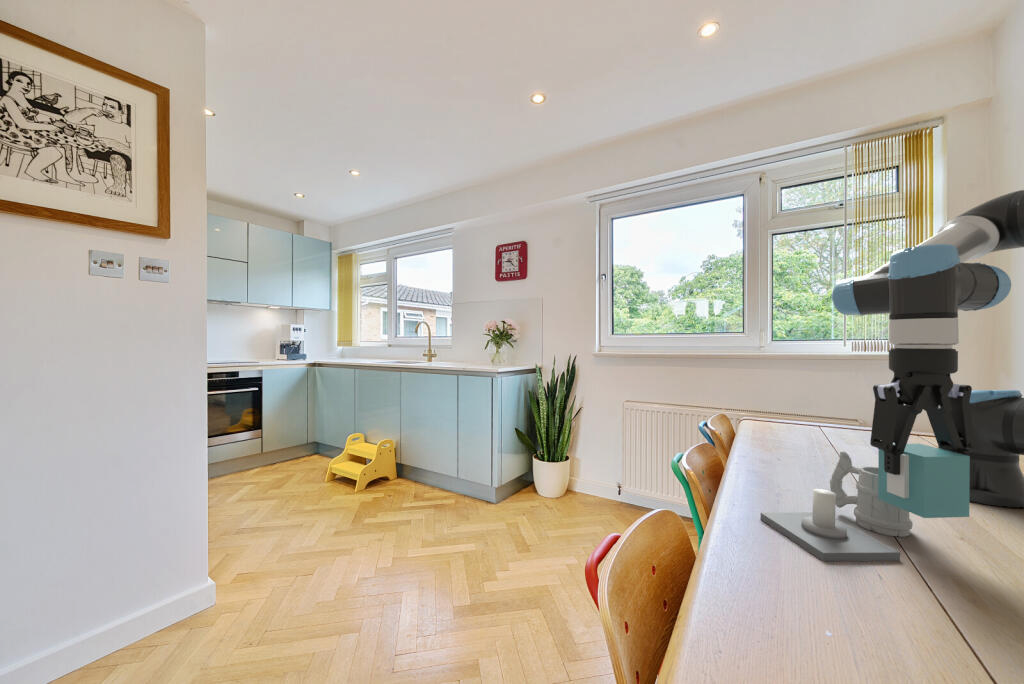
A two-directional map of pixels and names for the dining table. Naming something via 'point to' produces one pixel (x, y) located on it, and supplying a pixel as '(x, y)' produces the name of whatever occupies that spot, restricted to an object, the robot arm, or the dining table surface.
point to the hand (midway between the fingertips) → (921, 493)
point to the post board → (829, 533)
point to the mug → (869, 500)
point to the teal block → (931, 483)
